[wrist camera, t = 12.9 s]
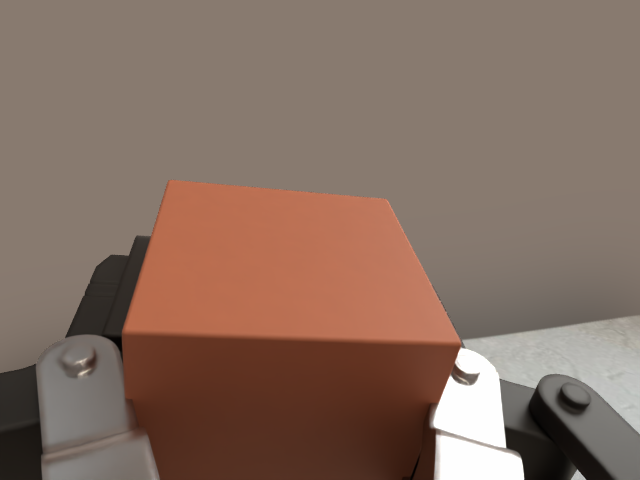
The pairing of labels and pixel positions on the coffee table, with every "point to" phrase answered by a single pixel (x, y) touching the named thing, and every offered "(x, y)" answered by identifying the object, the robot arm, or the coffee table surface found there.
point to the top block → (283, 337)
